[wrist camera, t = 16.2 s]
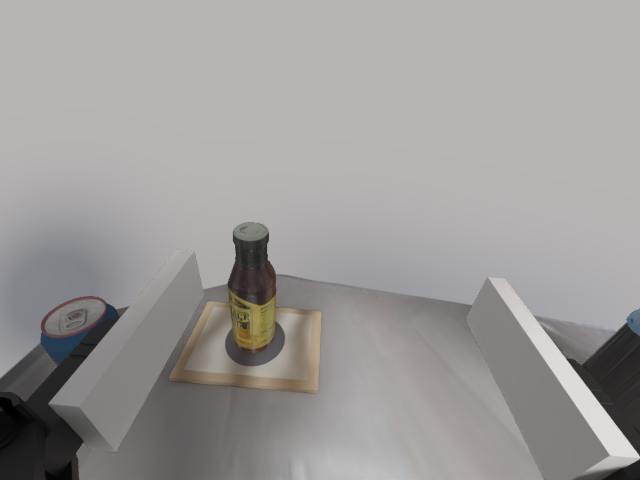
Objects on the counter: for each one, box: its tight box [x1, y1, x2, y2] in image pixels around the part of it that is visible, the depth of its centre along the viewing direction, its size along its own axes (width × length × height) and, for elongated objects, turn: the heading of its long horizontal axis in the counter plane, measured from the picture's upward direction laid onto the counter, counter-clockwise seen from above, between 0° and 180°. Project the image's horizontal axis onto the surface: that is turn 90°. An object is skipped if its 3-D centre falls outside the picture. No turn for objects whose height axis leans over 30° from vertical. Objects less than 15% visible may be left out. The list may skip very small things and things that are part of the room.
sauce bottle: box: [228, 222, 276, 353], centre depth 38 cm, size 6×6×20 cm
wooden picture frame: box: [169, 301, 322, 393], centre depth 43 cm, size 20×14×1 cm
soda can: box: [41, 296, 120, 366], centre depth 34 cm, size 7×7×12 cm
